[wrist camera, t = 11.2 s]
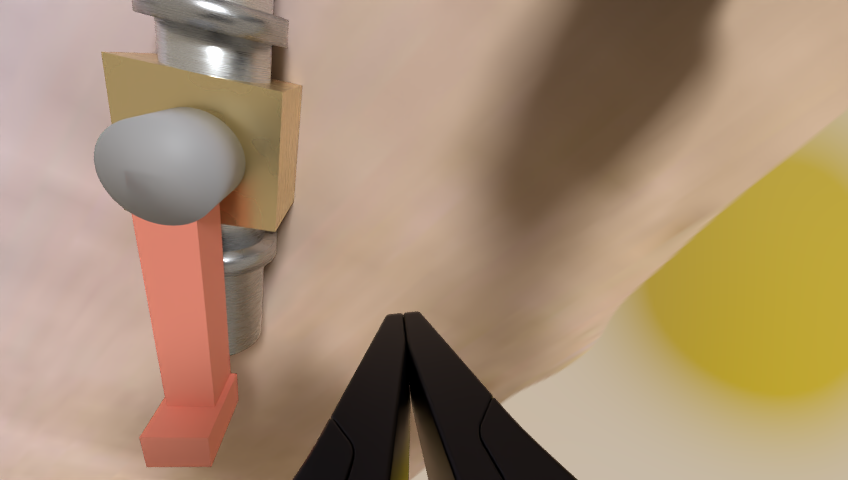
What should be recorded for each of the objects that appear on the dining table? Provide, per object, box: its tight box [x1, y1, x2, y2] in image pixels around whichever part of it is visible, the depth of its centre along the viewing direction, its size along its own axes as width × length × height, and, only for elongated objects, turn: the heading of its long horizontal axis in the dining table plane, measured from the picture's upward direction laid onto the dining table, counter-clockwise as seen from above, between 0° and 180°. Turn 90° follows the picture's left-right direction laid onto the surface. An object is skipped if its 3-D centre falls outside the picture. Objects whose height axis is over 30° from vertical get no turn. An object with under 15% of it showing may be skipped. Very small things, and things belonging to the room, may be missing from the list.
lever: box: [94, 107, 246, 467], centre depth 14 cm, size 15×4×4 cm, turn 169°
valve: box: [101, 0, 302, 355], centre depth 16 cm, size 6×22×5 cm, turn 167°
